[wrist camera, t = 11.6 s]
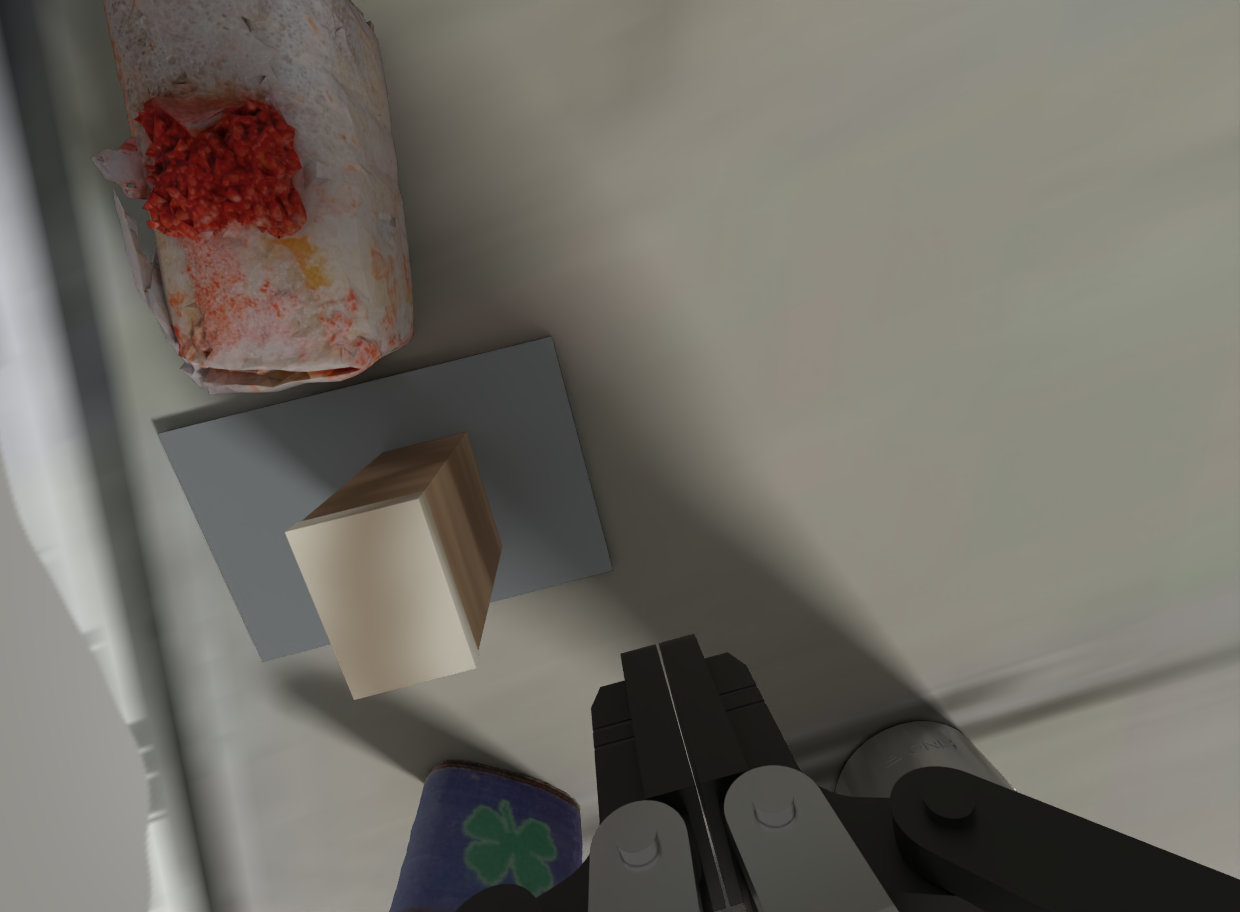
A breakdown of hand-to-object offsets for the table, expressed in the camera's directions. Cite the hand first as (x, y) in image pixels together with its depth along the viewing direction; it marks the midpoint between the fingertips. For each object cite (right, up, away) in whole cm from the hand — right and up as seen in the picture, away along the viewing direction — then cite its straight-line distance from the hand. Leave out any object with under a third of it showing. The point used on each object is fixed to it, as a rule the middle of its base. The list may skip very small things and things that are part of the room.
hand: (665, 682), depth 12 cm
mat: (-11, +2, +17) cm, 21 cm away
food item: (-14, +15, +14) cm, 25 cm away
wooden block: (-9, +2, +17) cm, 19 cm away
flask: (-7, -15, +22) cm, 28 cm away
